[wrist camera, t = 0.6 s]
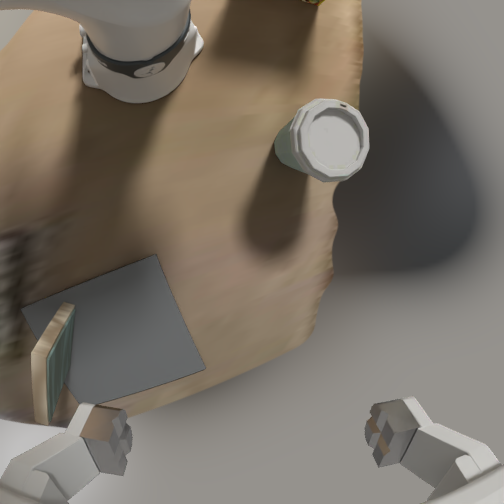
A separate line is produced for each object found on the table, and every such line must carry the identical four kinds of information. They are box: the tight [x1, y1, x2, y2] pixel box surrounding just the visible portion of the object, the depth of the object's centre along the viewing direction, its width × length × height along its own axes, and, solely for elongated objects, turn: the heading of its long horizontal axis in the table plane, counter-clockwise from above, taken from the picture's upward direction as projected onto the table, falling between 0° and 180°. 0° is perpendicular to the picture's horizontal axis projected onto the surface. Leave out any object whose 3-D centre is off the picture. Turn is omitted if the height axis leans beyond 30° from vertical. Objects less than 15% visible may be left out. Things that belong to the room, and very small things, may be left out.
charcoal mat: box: [21, 254, 206, 405], centre depth 48 cm, size 22×26×1 cm
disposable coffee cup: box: [274, 99, 369, 182], centre depth 41 cm, size 11×11×15 cm
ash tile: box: [31, 302, 75, 426], centre depth 37 cm, size 2×12×16 cm, turn 162°
